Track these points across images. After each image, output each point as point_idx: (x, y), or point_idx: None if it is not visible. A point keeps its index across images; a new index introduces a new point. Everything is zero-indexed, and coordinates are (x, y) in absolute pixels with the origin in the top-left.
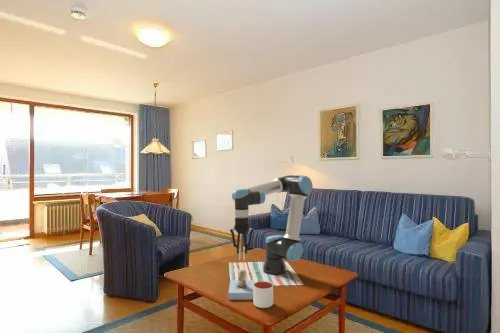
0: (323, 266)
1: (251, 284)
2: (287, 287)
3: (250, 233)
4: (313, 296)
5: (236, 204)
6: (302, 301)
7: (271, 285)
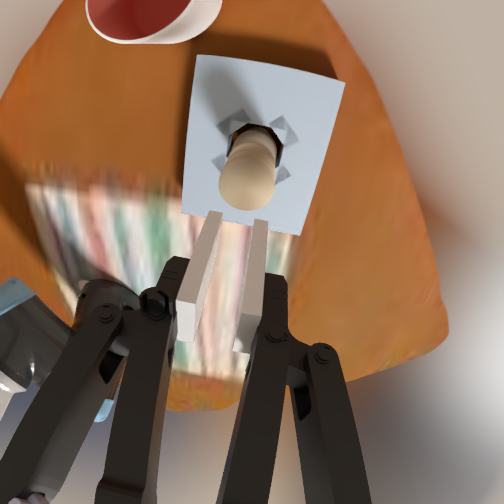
0: None
1: (200, 162)
2: (65, 166)
3: (18, 473)
4: (6, 90)
5: None
6: (35, 45)
7: (95, 13)
